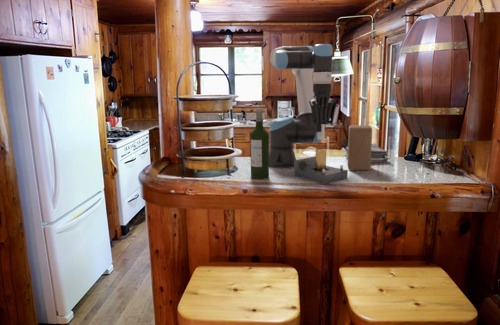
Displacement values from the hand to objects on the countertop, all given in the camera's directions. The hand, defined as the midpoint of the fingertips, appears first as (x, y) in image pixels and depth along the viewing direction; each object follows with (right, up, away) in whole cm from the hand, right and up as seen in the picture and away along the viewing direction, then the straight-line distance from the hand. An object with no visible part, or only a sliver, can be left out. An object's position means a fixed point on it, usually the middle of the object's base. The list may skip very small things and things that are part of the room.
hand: (320, 139), depth 170 cm
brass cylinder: (0, -16, +3) cm, 17 cm away
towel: (+30, -9, +37) cm, 48 cm away
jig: (0, -16, +3) cm, 17 cm away
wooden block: (+21, -13, +18) cm, 31 cm away
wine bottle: (-26, -17, +5) cm, 31 cm away
